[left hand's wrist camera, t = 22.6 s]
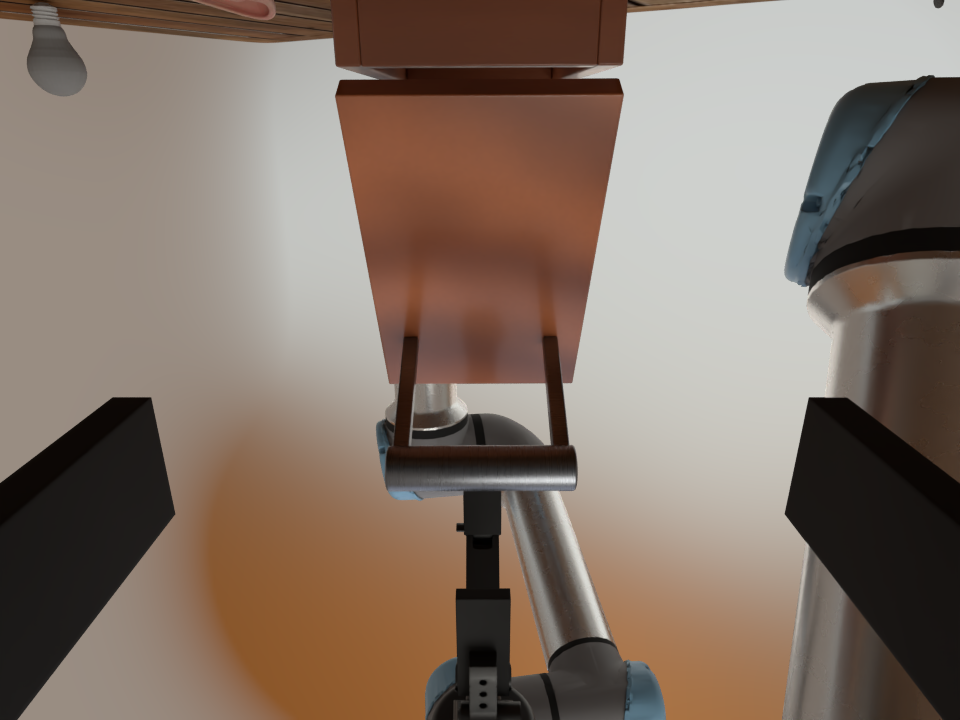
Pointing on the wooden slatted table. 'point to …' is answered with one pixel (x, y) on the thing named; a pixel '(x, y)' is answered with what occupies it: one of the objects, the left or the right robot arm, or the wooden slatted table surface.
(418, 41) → the chest
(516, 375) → the lid
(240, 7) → the anatomical model
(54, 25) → the light bulb
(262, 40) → the wooden slatted table surface
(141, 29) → the wooden slatted table surface
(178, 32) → the wooden slatted table surface
